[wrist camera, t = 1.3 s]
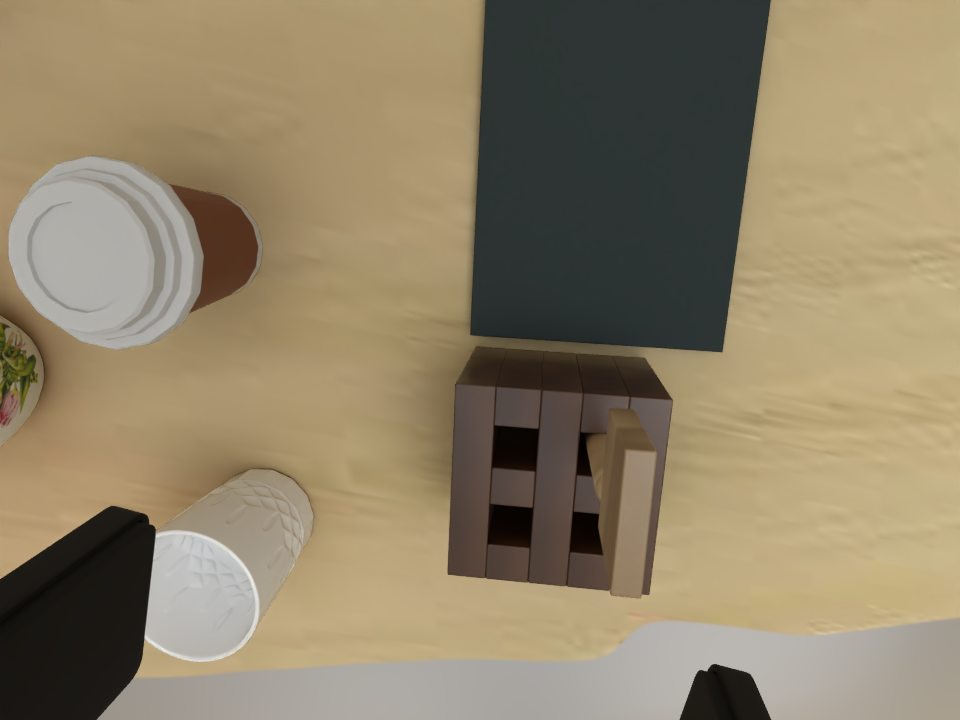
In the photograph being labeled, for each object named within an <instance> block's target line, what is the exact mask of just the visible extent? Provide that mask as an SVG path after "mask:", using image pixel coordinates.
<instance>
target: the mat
mask: <svg viewBox="0 0 960 720" xmlns="http://www.w3.org/2000/svg"><path fill="white" fill-rule="evenodd" d="M770 1H771V0H486V6H485V28H484V49H483V71H482V93H481V114H480V136H479V158H478V180H477V201H476V223H475V245H474V266H473V288H472V310H471V332H470V335H477V336H492V337H507V338H521V339H536V340H551V341H566V342H580V343H595V344H610V345H625V346H640V347H654V348H669V349H684V350H699V351H713V352H722V351H723V344H724V336H725V329H726V322H727V315H728V307H729V300H730V293H731V285H732V278H733V271H734V264H735V256H736V249H737V242H738V234H739V227H740V220H741V213H742V205H743V198H744V191H745V183H746V176H747V169H748V162H749V154H750V147H751V140H752V132H753V125H754V118H755V111H756V103H757V96H758V89H759V81H760V74H761V67H762V59H763V52H764V45H765V38H766V30H767V23H768V16H769V8H770Z"/></svg>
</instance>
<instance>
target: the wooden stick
mask: <svg viewBox="0 0 960 720" xmlns="http://www.w3.org/2000/svg"><path fill="white" fill-rule="evenodd" d="M584 436H585V441H586V446H587V451H588V456H589V461H590V467H591V472H592V477H593V482H594V487H595V492H596V495H597V497H598V498H599V500H600V512H599V523H598V528H599V534H600V539H601V545H602V550H603V556H604V561H605V567H606V572H607V578H608V583H609V589H610V594H611V595H612V596H620V597H630V598H641V597H642V588H643V579H644V569H645V560H646V551H647V542H648V533H649V523H650V514H651V505H652V496H653V486H654V477H655V468H656V459H657V451H656V449H655V448H654V446H653V444H652V442H651V440H650V438H649V436H648V434H647V432H646V431H645V429H644V427H643V425H642V423H641V421H640V419H639V417H638V415H637V413H636V412H635V410H633V409H620V408H610V409H609V415H608V426H607V434H597V433H584Z"/></svg>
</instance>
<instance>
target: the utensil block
mask: <svg viewBox="0 0 960 720" xmlns="http://www.w3.org/2000/svg"><path fill="white" fill-rule="evenodd" d="M672 403H673V400H672V398H671V397H670V395H669V394H668V392H667V391H666V389H665V388H664V386H663V385H662V383H661V382H660V380H659V378H658V377H657V375H656V374H655V372H654V371H653V369H652V368H651V366H650V365H649V363H648V362H647V360H646V359H645V358H633V357H619V356H613V357H612V356H604V355H589V354H574V353H560V352H543V351H532V350H518V349H508V350H507V349H503V348H488V347H475V349H474V351H473V353H472V355H471V357H470V358H469V360H468V362H467V364H466V366H465V368H464V369H463V371H462V373H461V375H460V377H459V379H458V380H457V382H456V384H455V405H454V430H453V454H452V478H451V502H450V526H449V550H448V575H457V576H467V577H476V578H485V577H486V578H487V579H496V580H506V581H516V582H529V583H537V584H547V585H557V586H566V585H567V586H568V587H576V588H586V589H596V590H606V591H609V583H608V578H607V572H606V567H605V561H604V556H603V550H602V545H601V539H600V534H599V528H598V523H599V512H600V500H599V498H598V497H597V495H596V492H595V487H594V482H593V477H592V472H591V467H590V461H589V456H588V451H587V446H586V441H585V436H584V433H597V434H607V426H608V415H609V409H610V408H620V409H633V410H635V412H636V413H637V415H638V417H639V419H640V421H641V423H642V425H643V427H644V429H645V431H646V432H647V434H648V436H649V438H650V440H651V442H652V444H653V446H654V448H655V449H656V451H657V459H656V468H655V477H654V486H653V496H652V505H651V514H650V523H649V533H648V542H647V551H646V560H645V569H644V579H643V588H642V594H643V595H649V593H650V585H651V576H652V568H653V560H654V552H655V543H656V535H657V527H658V519H659V511H660V502H661V494H662V486H663V478H664V469H665V461H666V453H667V445H668V436H669V428H670V420H671V412H672Z"/></svg>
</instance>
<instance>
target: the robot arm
mask: <svg viewBox="0 0 960 720" xmlns="http://www.w3.org/2000/svg"><path fill="white" fill-rule="evenodd" d="M155 538H156V529H155V527H154V526H153V525H150V524H149V519H148V516H147V515H145V514H143V513H139V512H136V511H132V510H128V509H124V508H120V507H117V506H111V507H108V508H106V509H105V510H103V511H102V512H100V513H99V514H97V515H96V516H94V517H93V518H91V519H90V520H88V521H87V522H85V523H84V524H82V525H81V526H79V527H78V528H76V529H75V530H73V531H72V532H70V533H69V534H67V535H66V536H64V537H63V538H61V539H60V540H58V541H57V542H55V543H54V544H52V545H51V546H49V547H48V548H46V549H45V550H43V551H42V552H40V553H39V554H37V555H36V556H34V557H33V558H31V559H30V560H28V561H27V562H25V563H24V564H22V565H21V566H19V567H18V568H16V569H15V570H13V571H12V572H10V573H9V574H7V575H6V576H4V577H3V578H1V579H0V720H97V719H98V717H99V716H100V715H101V714H102V713H103V712H104V711H105V710H106V709H107V707H108V706H109V705H110V704H111V703H112V702H113V701H114V700H115V698H116V697H117V696H118V695H119V694H120V693H121V692H122V691H123V690H124V688H125V687H126V686H127V685H128V684H129V683H130V681H131V680H132V679H133V678H134V676H135V674H136V673H137V671H138V668H139V666H140V663H141V660H142V655H143V646H144V637H145V628H146V619H147V610H148V601H149V592H150V583H151V574H152V565H153V556H154V547H155ZM680 720H771V718H770V716H769V714H768V711H767V709H766V707H765V704H764V702H763V700H762V698H761V695H760V693H759V691H758V688H757V686H756V684H755V682H754V679H753V678H752V676H751V675H750V674H748V673H747V672H743V671H739V670H736V669H731V668H728V667H724V666H720V665H717V664H713V665H711V667H710V668H709V669H708V671H703V670H700V671H698V672H697V674H696V676H695V679H694V681H693V684H692V687H691V690H690V692H689V695H688V698H687V701H686V703H685V706H684V709H683V712H682V715H681V717H680Z"/></svg>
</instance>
